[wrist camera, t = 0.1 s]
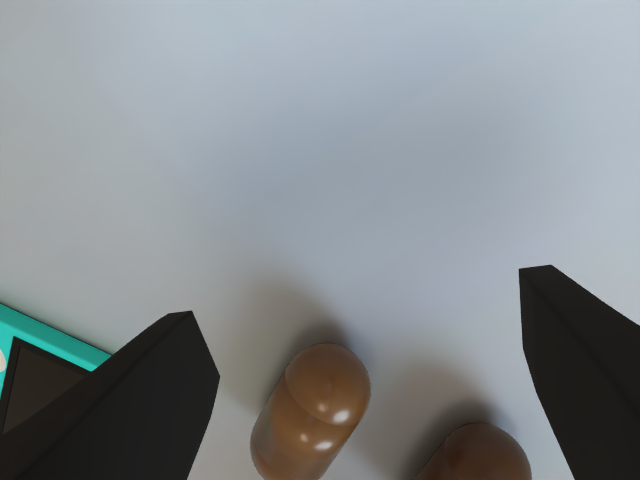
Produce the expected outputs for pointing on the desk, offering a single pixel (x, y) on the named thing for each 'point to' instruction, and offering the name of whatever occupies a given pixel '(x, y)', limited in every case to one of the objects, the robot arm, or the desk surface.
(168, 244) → the desk surface
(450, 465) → the brown toy capsule
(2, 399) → the handheld game console
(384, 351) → the desk surface
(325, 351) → the brown egg capsule
